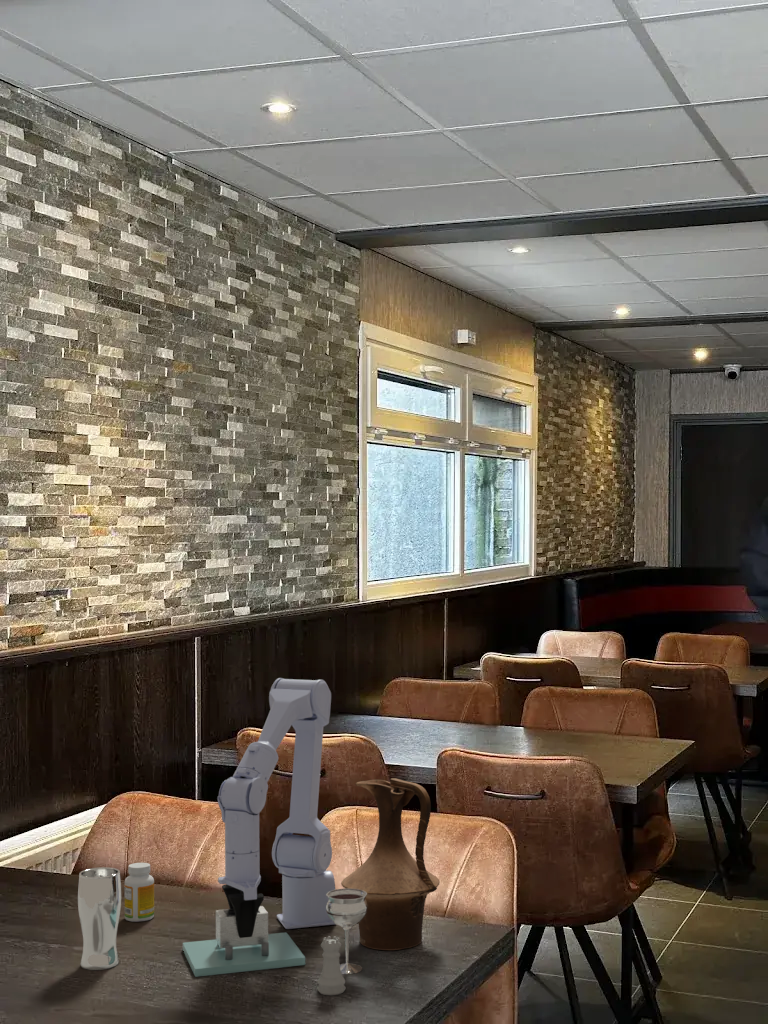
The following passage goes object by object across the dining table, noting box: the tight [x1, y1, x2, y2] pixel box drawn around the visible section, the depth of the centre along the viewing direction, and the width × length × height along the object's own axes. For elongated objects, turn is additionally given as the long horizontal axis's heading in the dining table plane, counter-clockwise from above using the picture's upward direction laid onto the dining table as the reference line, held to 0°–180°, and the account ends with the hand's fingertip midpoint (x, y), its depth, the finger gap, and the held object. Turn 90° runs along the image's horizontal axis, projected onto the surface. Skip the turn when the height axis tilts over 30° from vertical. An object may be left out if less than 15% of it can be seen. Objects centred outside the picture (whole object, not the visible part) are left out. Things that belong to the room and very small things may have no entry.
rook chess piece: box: [316, 935, 346, 997], centre depth 193 cm, size 4×4×8 cm
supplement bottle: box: [124, 862, 155, 923], centre depth 232 cm, size 5×5×10 cm
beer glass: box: [77, 866, 122, 971], centre depth 206 cm, size 7×7×15 cm
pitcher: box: [340, 777, 440, 951], centre depth 217 cm, size 18×17×28 cm
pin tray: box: [182, 932, 306, 978], centre depth 209 cm, size 18×14×3 cm
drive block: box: [215, 905, 269, 948], centre depth 209 cm, size 8×4×5 cm, turn 107°
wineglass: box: [326, 888, 368, 975], centre depth 203 cm, size 7×7×12 cm
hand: (242, 932), depth 209 cm, fingers closed on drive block, 4 cm apart
